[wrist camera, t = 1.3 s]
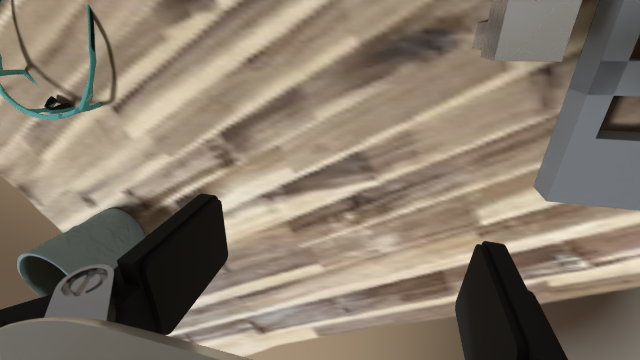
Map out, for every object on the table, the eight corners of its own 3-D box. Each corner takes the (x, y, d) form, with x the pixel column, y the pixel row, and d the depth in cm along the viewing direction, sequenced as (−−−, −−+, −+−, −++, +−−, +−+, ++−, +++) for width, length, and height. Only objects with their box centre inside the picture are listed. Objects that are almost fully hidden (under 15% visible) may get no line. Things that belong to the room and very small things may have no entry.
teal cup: (135, 204, 46) (57, 255, 35) (159, 256, 50) (95, 315, 39) (87, 205, 48) (1, 252, 38) (113, 254, 53) (42, 308, 42)
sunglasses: (23, 92, 41) (-22, 94, 37) (15, -29, 35) (-40, -43, 31) (111, 129, 41) (76, 137, 36) (118, 13, 35) (77, 5, 30)
